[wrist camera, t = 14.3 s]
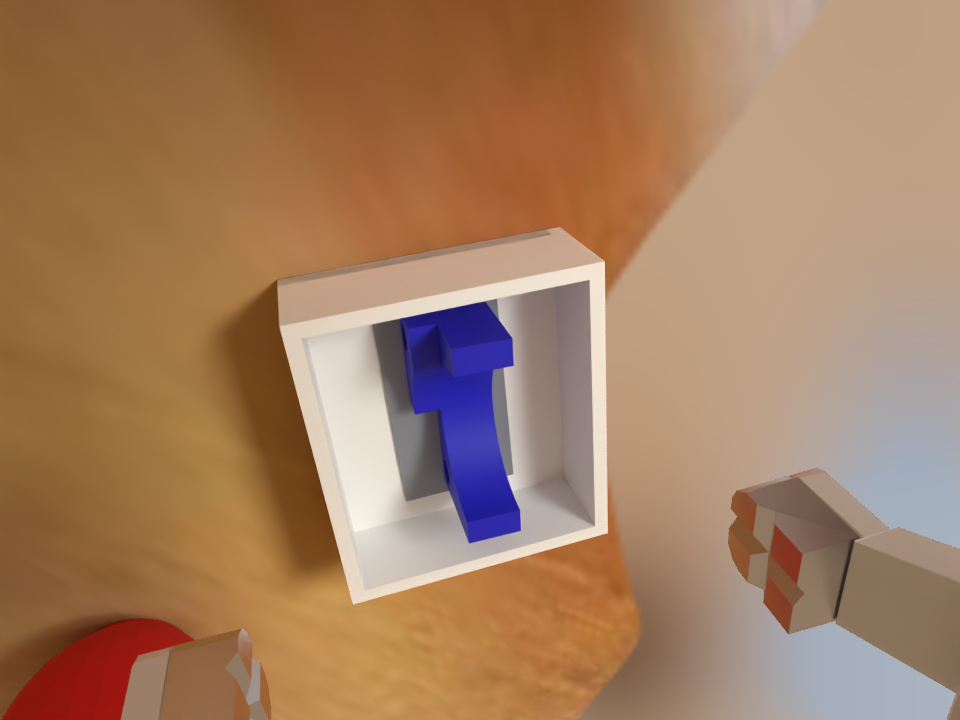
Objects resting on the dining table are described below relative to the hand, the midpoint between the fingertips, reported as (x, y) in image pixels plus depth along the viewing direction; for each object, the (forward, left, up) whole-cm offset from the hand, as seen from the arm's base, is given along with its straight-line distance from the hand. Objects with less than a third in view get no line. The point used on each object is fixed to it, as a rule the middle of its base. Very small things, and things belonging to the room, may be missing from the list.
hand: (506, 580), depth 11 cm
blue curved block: (-4, +12, -26) cm, 29 cm away
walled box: (-4, +13, -27) cm, 30 cm away
